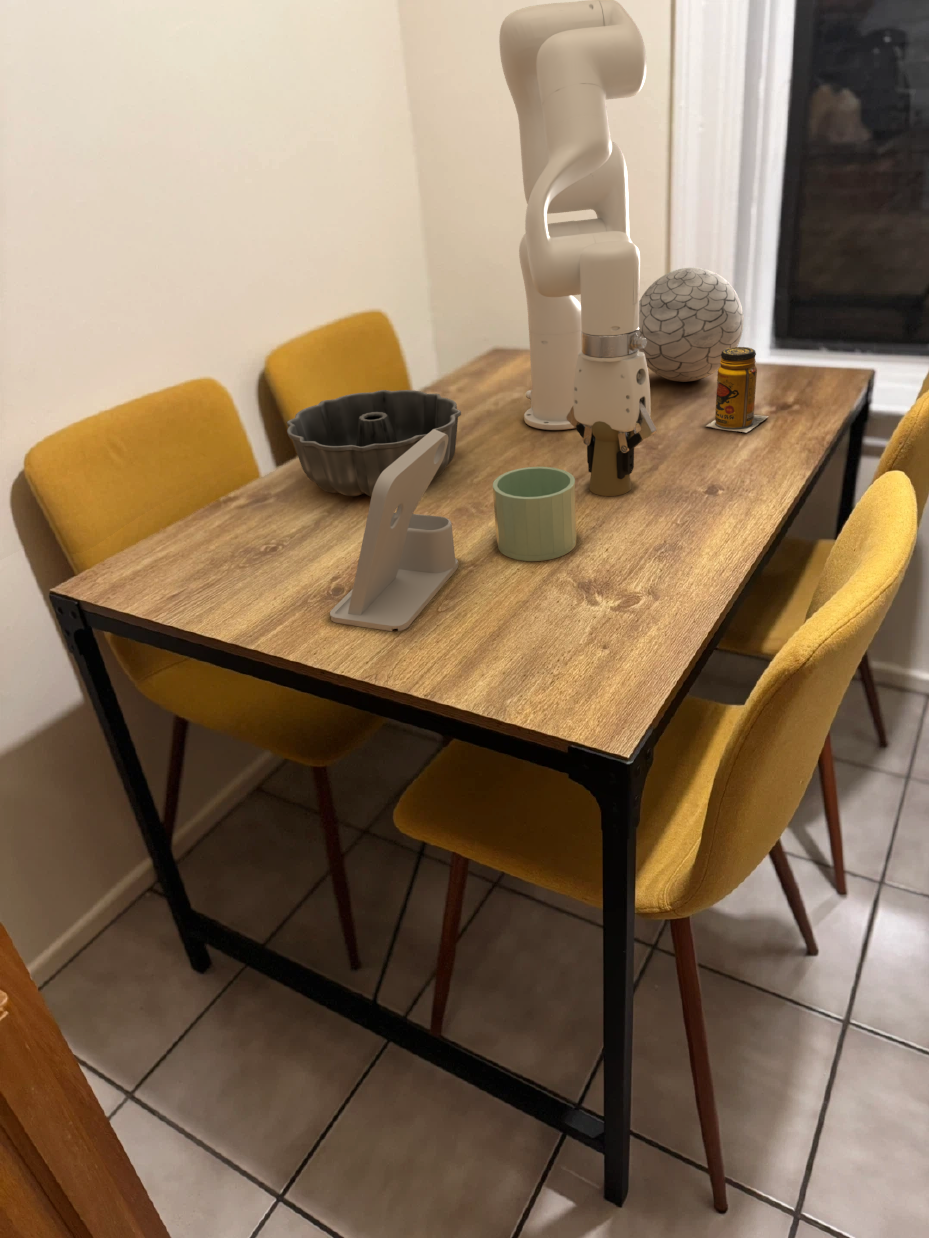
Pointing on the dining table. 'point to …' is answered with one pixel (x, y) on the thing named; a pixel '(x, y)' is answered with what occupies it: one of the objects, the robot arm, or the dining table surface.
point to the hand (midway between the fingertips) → (610, 471)
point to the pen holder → (535, 513)
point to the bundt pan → (367, 435)
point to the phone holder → (401, 545)
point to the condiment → (736, 391)
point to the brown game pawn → (606, 463)
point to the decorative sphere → (689, 323)
